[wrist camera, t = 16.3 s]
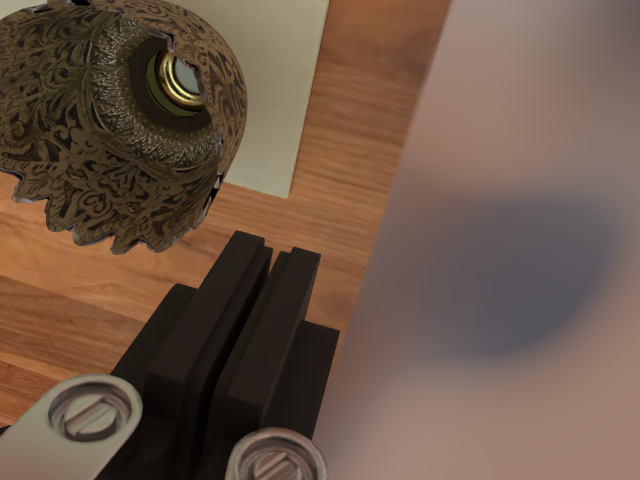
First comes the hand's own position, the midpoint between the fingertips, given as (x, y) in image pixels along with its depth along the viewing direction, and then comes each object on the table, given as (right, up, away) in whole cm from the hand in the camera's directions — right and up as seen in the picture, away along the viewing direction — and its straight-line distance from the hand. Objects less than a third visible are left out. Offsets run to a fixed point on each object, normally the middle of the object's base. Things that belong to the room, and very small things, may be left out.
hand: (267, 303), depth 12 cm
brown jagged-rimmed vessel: (-4, +8, +12) cm, 15 cm away
